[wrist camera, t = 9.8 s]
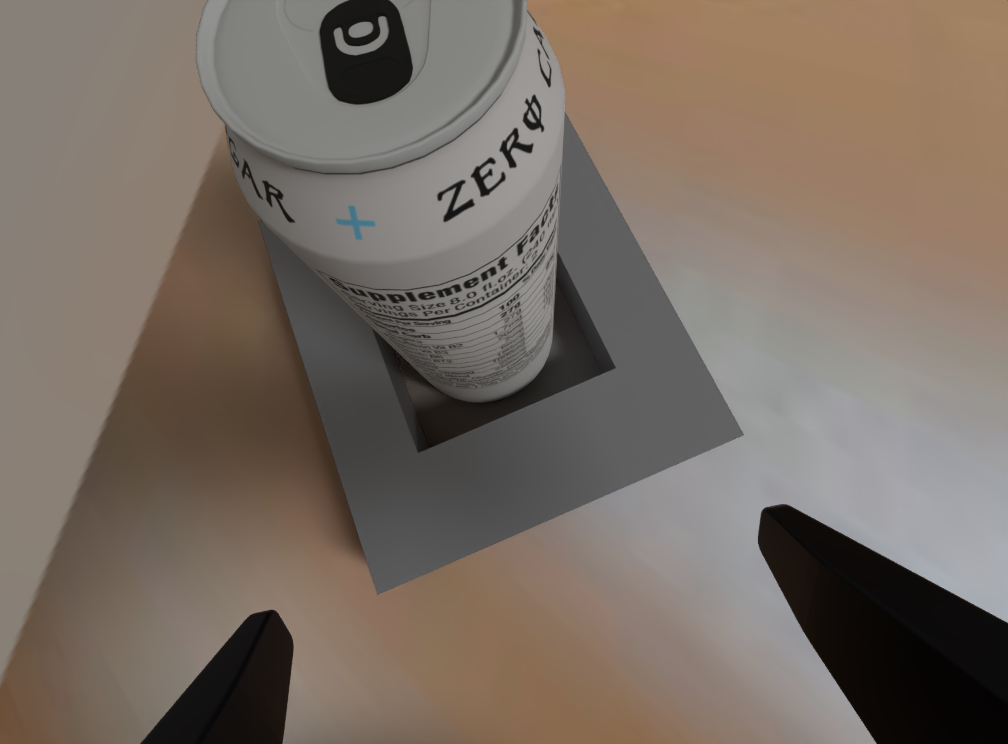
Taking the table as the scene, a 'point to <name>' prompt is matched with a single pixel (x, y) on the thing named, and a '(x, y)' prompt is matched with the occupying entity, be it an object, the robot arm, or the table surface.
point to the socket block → (524, 433)
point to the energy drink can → (405, 167)
